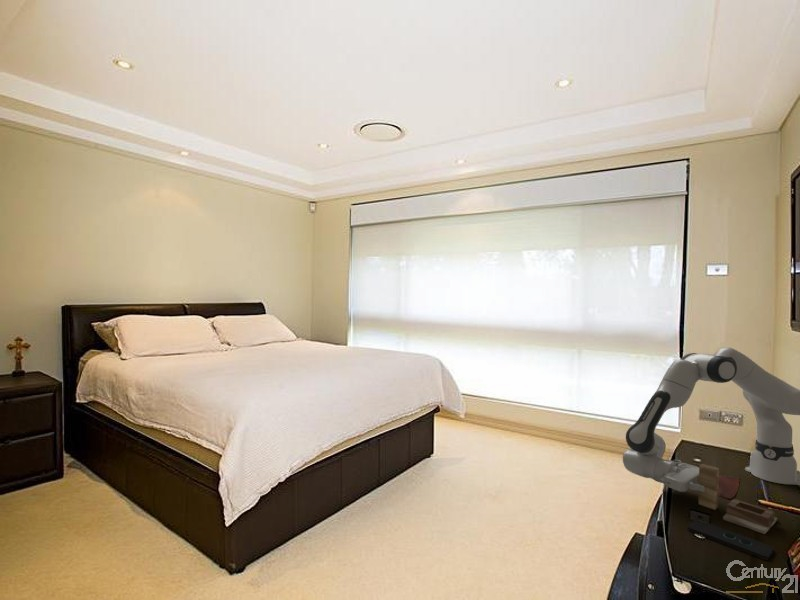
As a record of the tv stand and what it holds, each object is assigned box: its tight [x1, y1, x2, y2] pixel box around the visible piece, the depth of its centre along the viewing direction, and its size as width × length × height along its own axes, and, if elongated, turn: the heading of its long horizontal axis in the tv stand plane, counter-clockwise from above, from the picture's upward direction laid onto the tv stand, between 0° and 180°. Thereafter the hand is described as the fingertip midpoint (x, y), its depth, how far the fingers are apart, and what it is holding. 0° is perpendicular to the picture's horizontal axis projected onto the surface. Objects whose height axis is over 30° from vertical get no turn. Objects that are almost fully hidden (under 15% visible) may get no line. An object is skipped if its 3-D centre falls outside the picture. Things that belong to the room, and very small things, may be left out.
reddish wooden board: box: [718, 474, 741, 500], centre depth 172 cm, size 27×10×2 cm, turn 135°
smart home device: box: [687, 519, 775, 560], centre depth 133 cm, size 8×2×20 cm
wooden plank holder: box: [722, 498, 778, 535], centre depth 145 cm, size 14×11×4 cm
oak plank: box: [698, 463, 720, 511], centre depth 155 cm, size 3×5×14 cm, turn 37°
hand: (710, 485), depth 155 cm, fingers open, 8 cm apart
